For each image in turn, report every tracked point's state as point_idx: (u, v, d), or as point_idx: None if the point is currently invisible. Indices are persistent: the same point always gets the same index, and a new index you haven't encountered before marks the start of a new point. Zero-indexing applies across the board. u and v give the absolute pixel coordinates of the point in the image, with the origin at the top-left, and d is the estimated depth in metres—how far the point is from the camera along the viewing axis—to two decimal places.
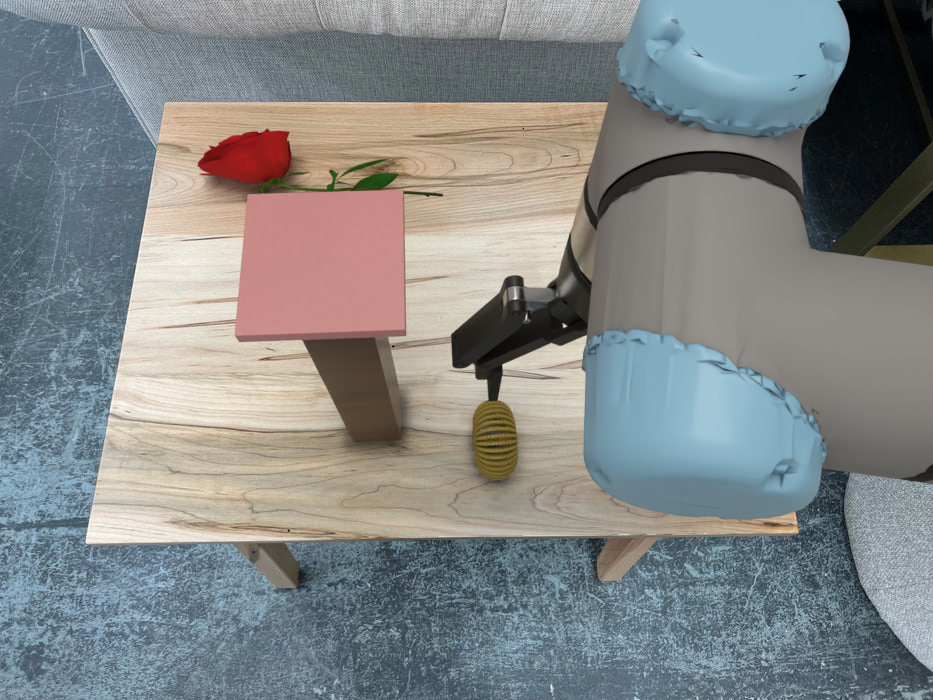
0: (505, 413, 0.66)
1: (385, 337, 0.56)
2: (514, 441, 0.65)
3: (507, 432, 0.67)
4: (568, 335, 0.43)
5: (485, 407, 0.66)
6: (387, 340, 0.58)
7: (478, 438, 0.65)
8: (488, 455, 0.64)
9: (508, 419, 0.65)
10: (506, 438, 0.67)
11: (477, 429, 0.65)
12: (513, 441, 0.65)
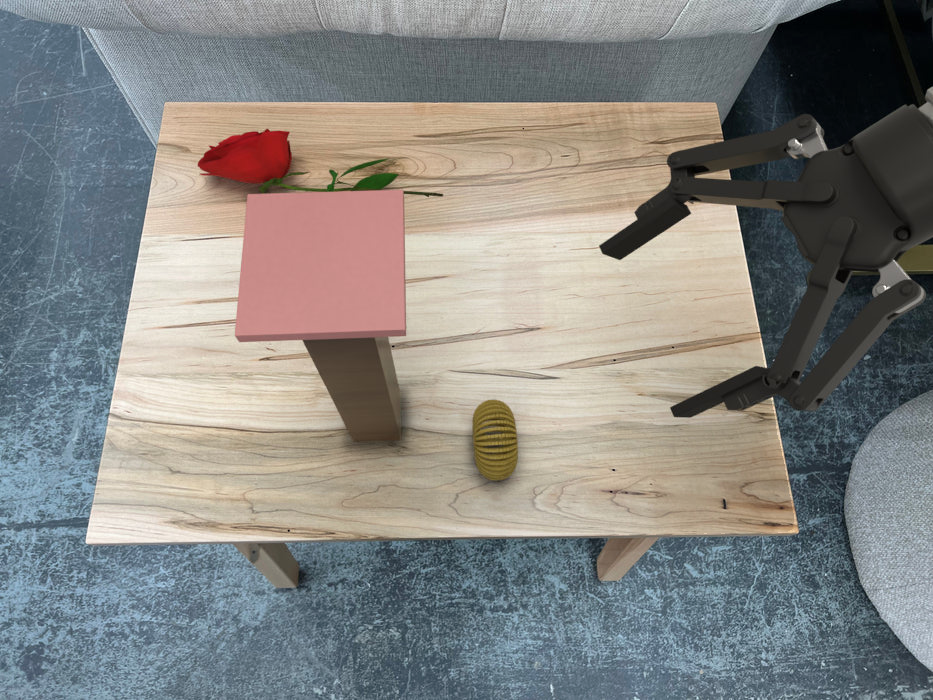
0: (505, 413, 0.66)
1: (385, 337, 0.56)
2: (514, 441, 0.65)
3: (507, 432, 0.67)
4: (792, 185, 0.43)
5: (485, 407, 0.66)
6: (387, 340, 0.58)
7: (478, 438, 0.65)
8: (488, 455, 0.64)
9: (508, 419, 0.65)
10: (506, 438, 0.67)
11: (477, 429, 0.65)
12: (513, 441, 0.65)
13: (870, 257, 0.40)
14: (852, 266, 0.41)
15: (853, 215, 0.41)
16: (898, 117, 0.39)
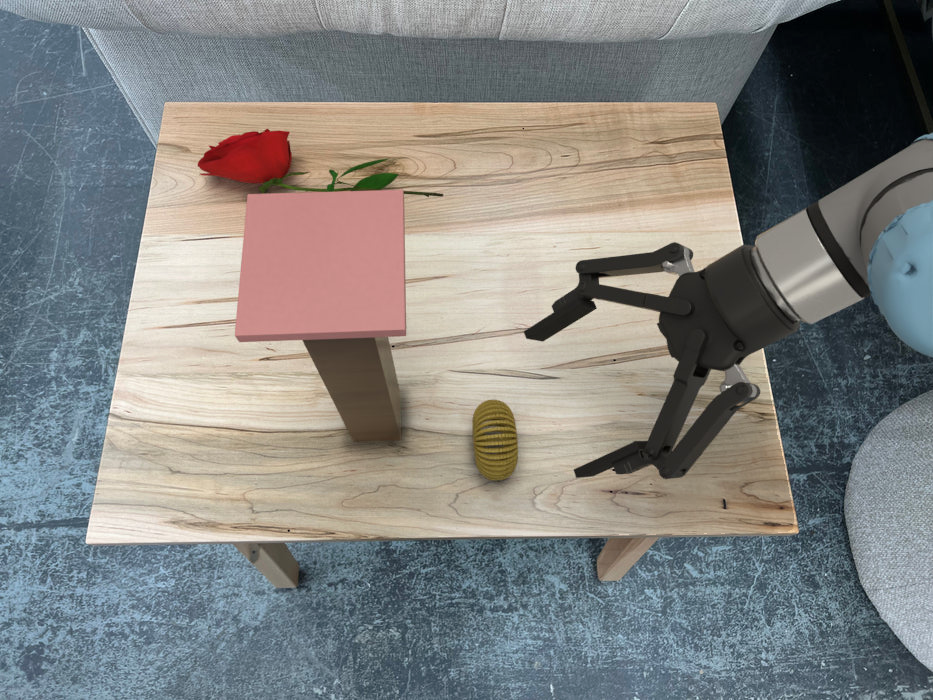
0: (505, 413, 0.66)
1: (385, 337, 0.56)
2: (514, 441, 0.65)
3: (507, 432, 0.67)
4: (663, 299, 0.55)
5: (485, 407, 0.66)
6: (387, 340, 0.58)
7: (478, 438, 0.65)
8: (488, 455, 0.64)
9: (508, 419, 0.65)
10: (506, 438, 0.67)
11: (477, 429, 0.65)
12: (513, 441, 0.65)
13: (717, 362, 0.52)
14: (705, 367, 0.53)
15: (706, 327, 0.53)
16: (733, 257, 0.50)
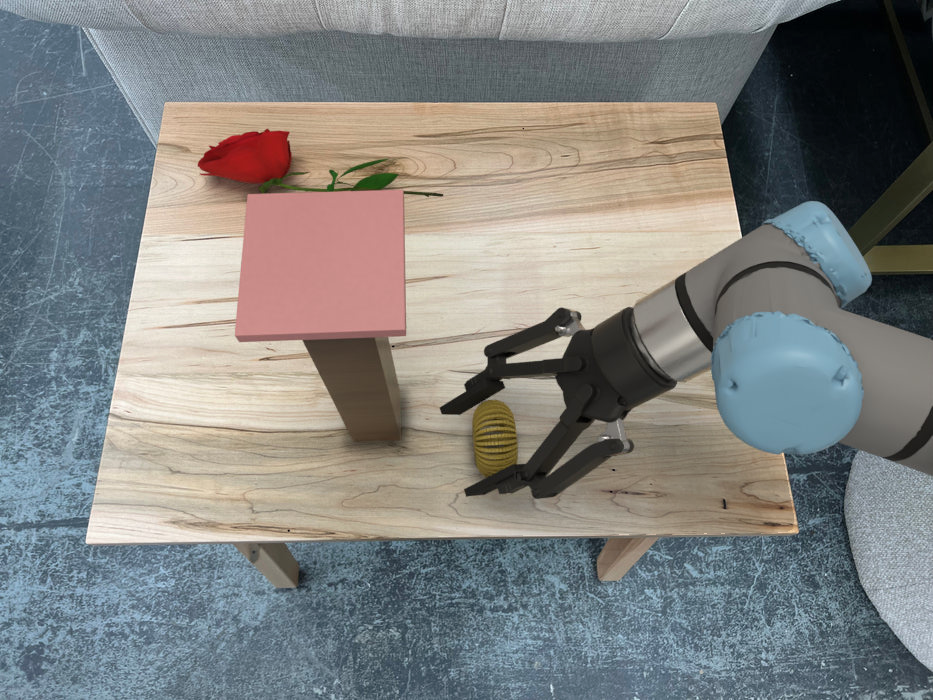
0: (505, 413, 0.66)
1: (385, 337, 0.56)
2: (514, 441, 0.65)
3: (507, 432, 0.67)
4: (557, 361, 0.59)
5: (485, 407, 0.66)
6: (387, 340, 0.58)
7: (478, 438, 0.65)
8: (488, 455, 0.64)
9: (508, 419, 0.65)
10: (506, 438, 0.67)
11: (477, 429, 0.65)
12: (513, 441, 0.65)
13: (604, 415, 0.56)
14: (595, 419, 0.57)
15: (595, 382, 0.57)
16: (614, 321, 0.54)
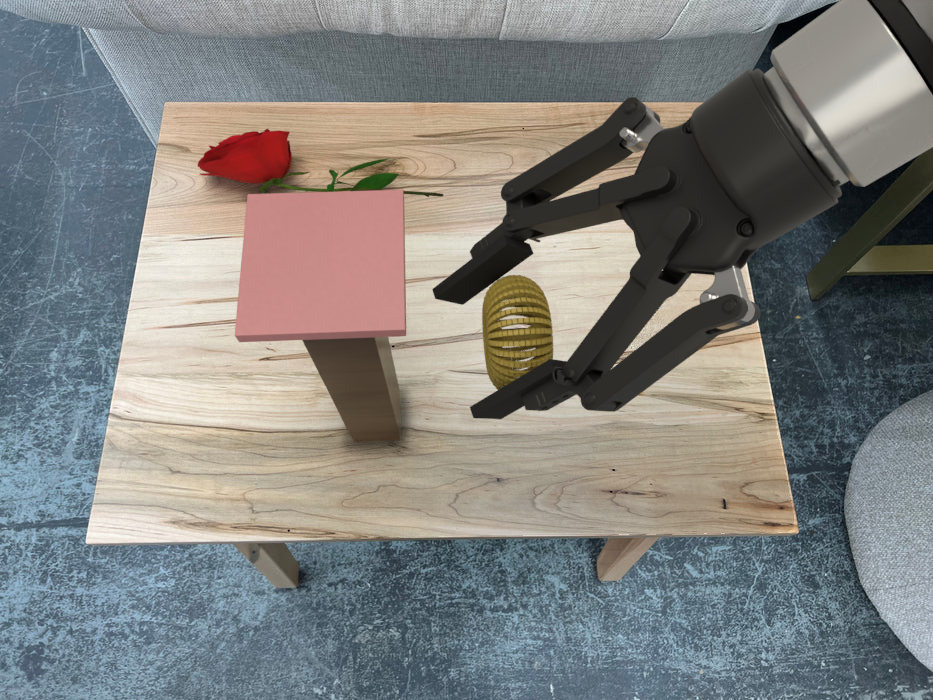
0: (534, 290, 0.42)
1: (385, 337, 0.56)
2: (548, 331, 0.41)
3: (536, 324, 0.44)
4: (626, 182, 0.36)
5: (502, 282, 0.43)
6: (387, 340, 0.58)
7: (492, 327, 0.42)
8: (508, 352, 0.41)
9: (539, 298, 0.42)
10: None
11: (490, 314, 0.42)
12: (547, 331, 0.41)
13: (711, 257, 0.33)
14: (693, 268, 0.34)
15: (693, 205, 0.34)
16: (736, 83, 0.31)
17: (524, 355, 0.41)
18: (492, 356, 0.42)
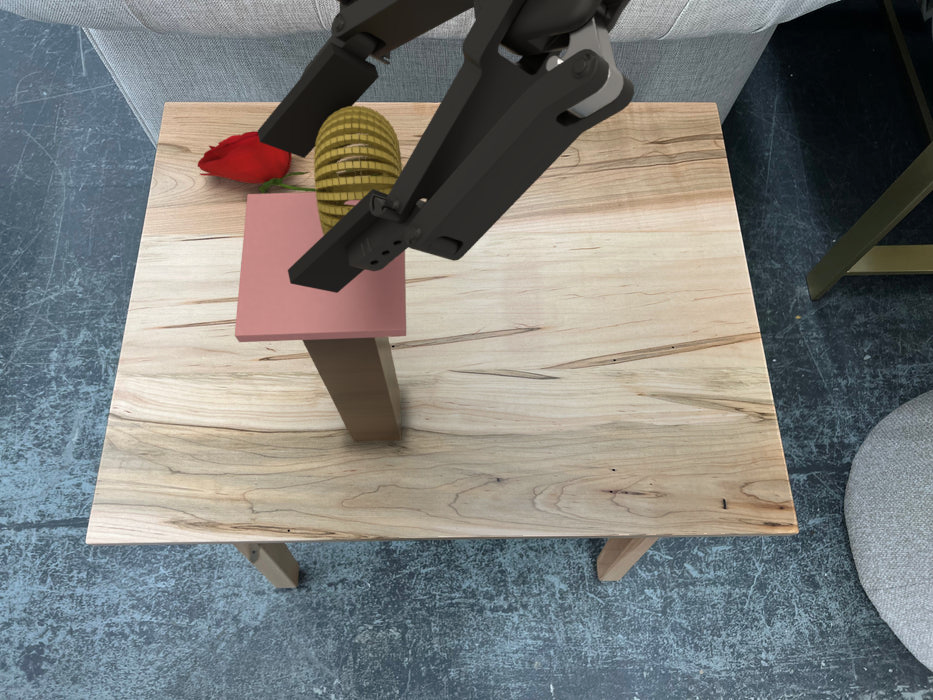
0: (375, 119, 0.32)
1: (385, 337, 0.56)
2: (389, 169, 0.32)
3: None
4: None
5: (337, 112, 0.33)
6: (387, 340, 0.58)
7: (316, 163, 0.32)
8: None
9: (380, 128, 0.32)
10: None
11: (316, 148, 0.32)
12: (387, 167, 0.31)
13: (561, 6, 0.23)
14: (542, 31, 0.24)
15: None
16: None
17: (353, 197, 0.31)
18: (318, 204, 0.32)
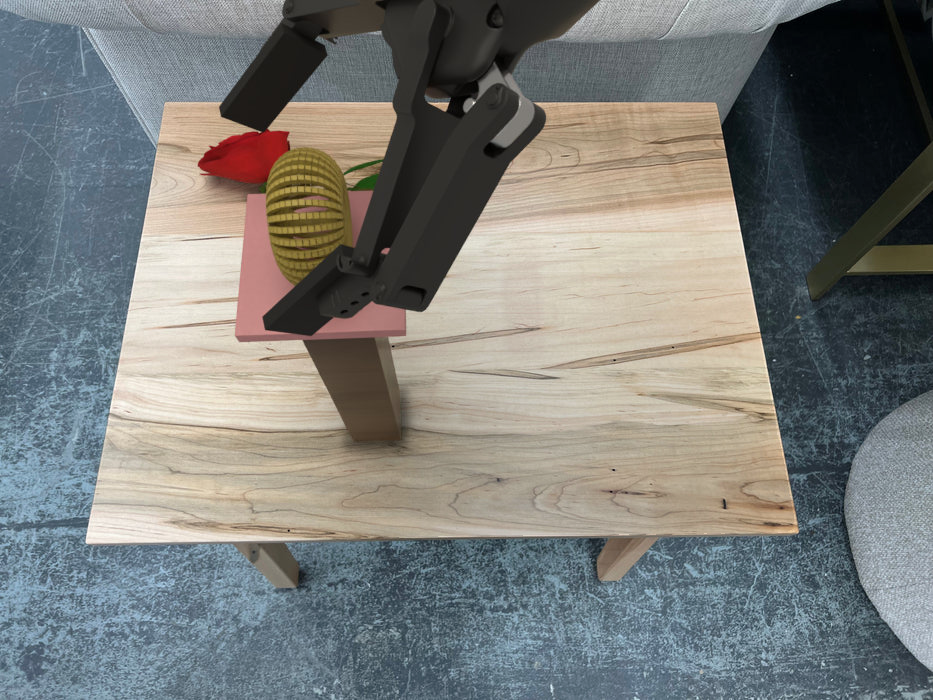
0: (320, 160, 0.36)
1: (385, 337, 0.56)
2: (332, 205, 0.35)
3: None
4: None
5: (287, 153, 0.37)
6: (387, 340, 0.58)
7: (267, 200, 0.36)
8: (282, 227, 0.35)
9: (324, 168, 0.36)
10: None
11: (268, 187, 0.36)
12: (329, 204, 0.35)
13: (461, 60, 0.26)
14: (447, 80, 0.27)
15: (447, 1, 0.27)
16: None
17: (299, 230, 0.35)
18: (270, 236, 0.36)
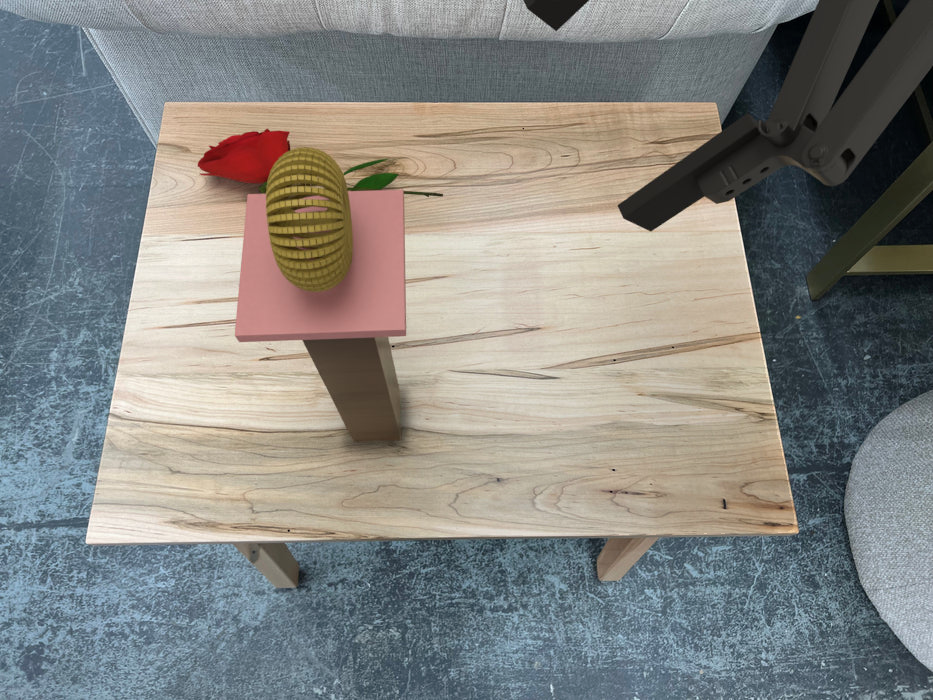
0: (320, 160, 0.36)
1: (385, 337, 0.56)
2: (332, 205, 0.35)
3: None
4: None
5: (287, 153, 0.37)
6: (387, 340, 0.58)
7: (267, 200, 0.36)
8: (282, 227, 0.35)
9: (324, 168, 0.36)
10: None
11: (268, 187, 0.36)
12: (330, 204, 0.35)
13: None
14: None
15: None
16: None
17: (299, 230, 0.35)
18: (270, 236, 0.36)
